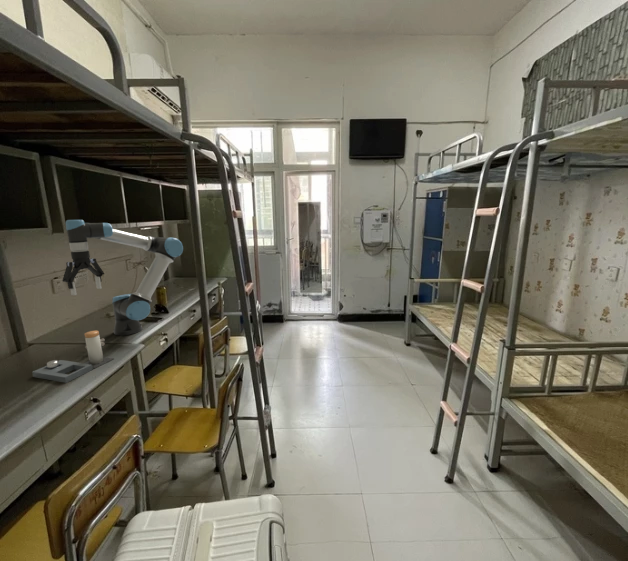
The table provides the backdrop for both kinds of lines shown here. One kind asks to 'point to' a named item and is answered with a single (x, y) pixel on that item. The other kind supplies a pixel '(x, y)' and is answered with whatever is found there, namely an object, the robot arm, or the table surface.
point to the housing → (63, 371)
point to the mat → (100, 363)
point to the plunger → (52, 364)
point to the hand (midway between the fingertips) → (87, 291)
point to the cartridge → (94, 347)
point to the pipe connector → (100, 341)
